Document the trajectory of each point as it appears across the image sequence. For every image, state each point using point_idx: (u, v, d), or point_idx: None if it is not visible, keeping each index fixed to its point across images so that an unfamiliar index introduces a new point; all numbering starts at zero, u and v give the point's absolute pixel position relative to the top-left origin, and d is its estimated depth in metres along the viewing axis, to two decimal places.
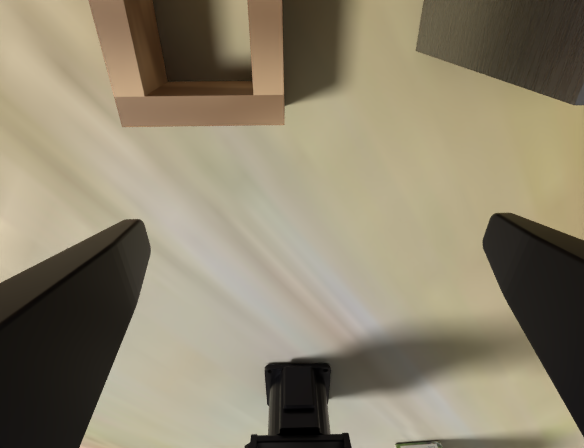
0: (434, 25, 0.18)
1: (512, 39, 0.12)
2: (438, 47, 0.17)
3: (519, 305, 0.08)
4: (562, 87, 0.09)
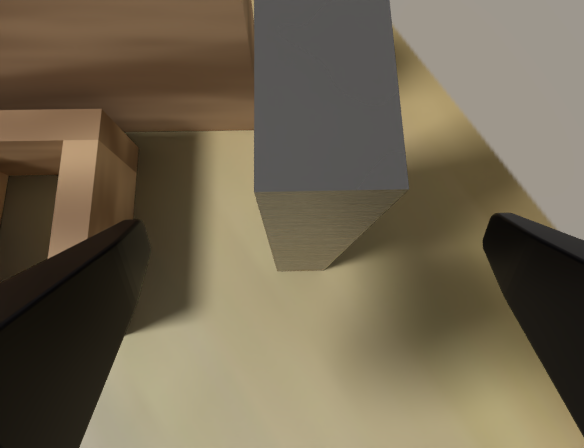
0: None
1: None
2: None
3: (519, 305, 0.08)
4: None
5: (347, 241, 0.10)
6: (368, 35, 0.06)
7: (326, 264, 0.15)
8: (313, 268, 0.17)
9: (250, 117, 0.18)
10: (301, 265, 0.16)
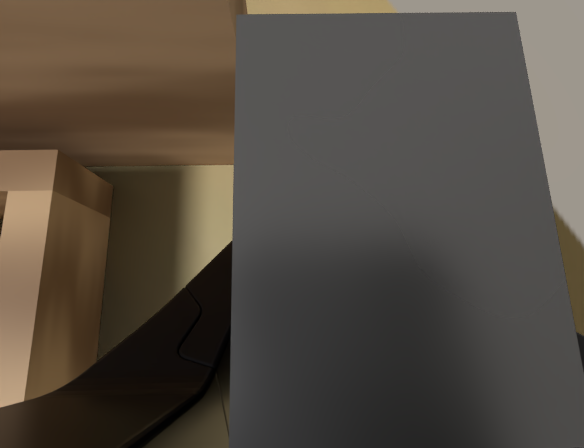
0: None
1: None
2: None
3: None
4: None
5: None
6: (486, 141, 0.03)
7: None
8: None
9: None
10: None
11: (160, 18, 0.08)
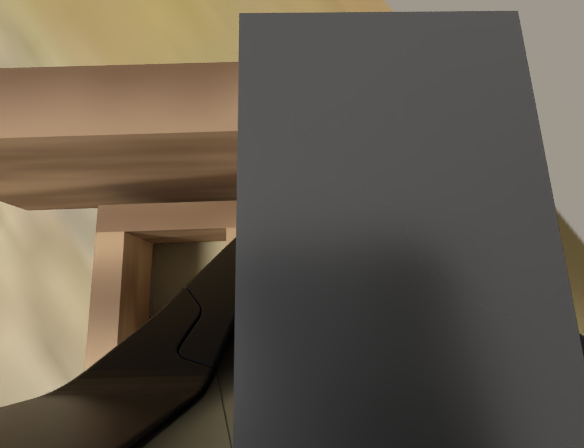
0: None
1: None
2: None
3: None
4: None
5: None
6: (488, 139, 0.03)
7: None
8: None
9: None
10: None
11: None
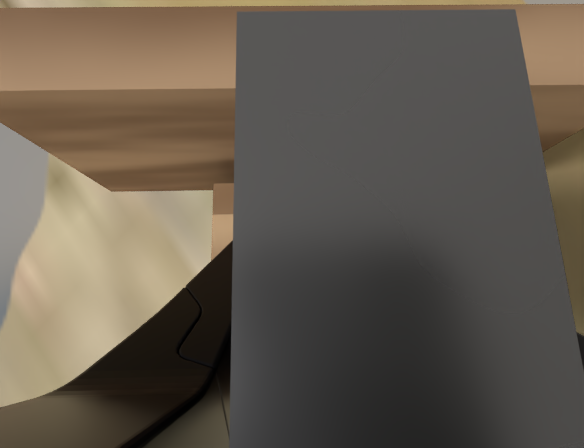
0: None
1: None
2: None
3: None
4: None
5: None
6: (486, 137, 0.03)
7: None
8: None
9: None
10: None
11: (575, 106, 0.12)
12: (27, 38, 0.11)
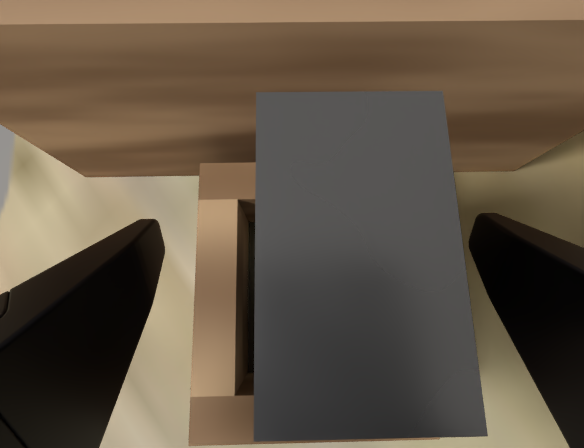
0: None
1: None
2: None
3: (503, 305, 0.08)
4: None
5: None
6: (419, 178, 0.04)
7: None
8: None
9: (522, 160, 0.17)
10: None
11: None
12: None
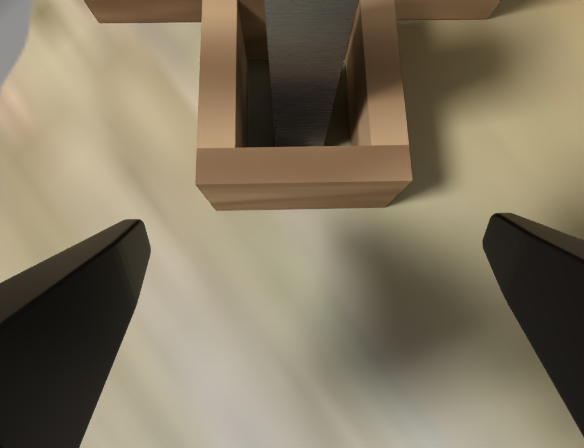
0: None
1: None
2: None
3: (519, 305, 0.08)
4: None
5: (344, 27, 0.10)
6: None
7: (324, 126, 0.16)
8: (311, 142, 0.17)
9: None
10: (299, 128, 0.16)
11: None
12: None
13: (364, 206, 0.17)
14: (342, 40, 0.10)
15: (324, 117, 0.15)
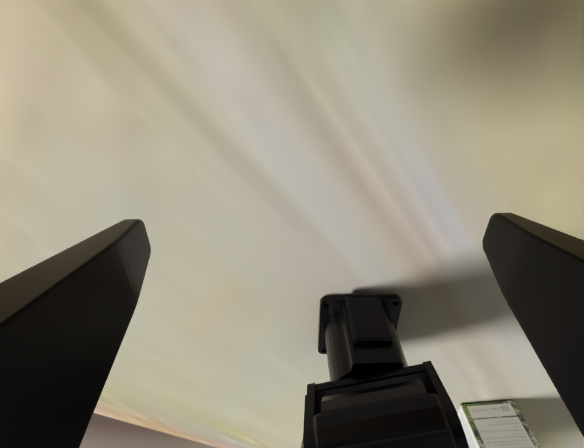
0: None
1: None
2: None
3: (519, 305, 0.08)
4: None
5: None
6: None
7: None
8: None
9: None
10: None
11: None
12: None
13: None
14: None
15: None
